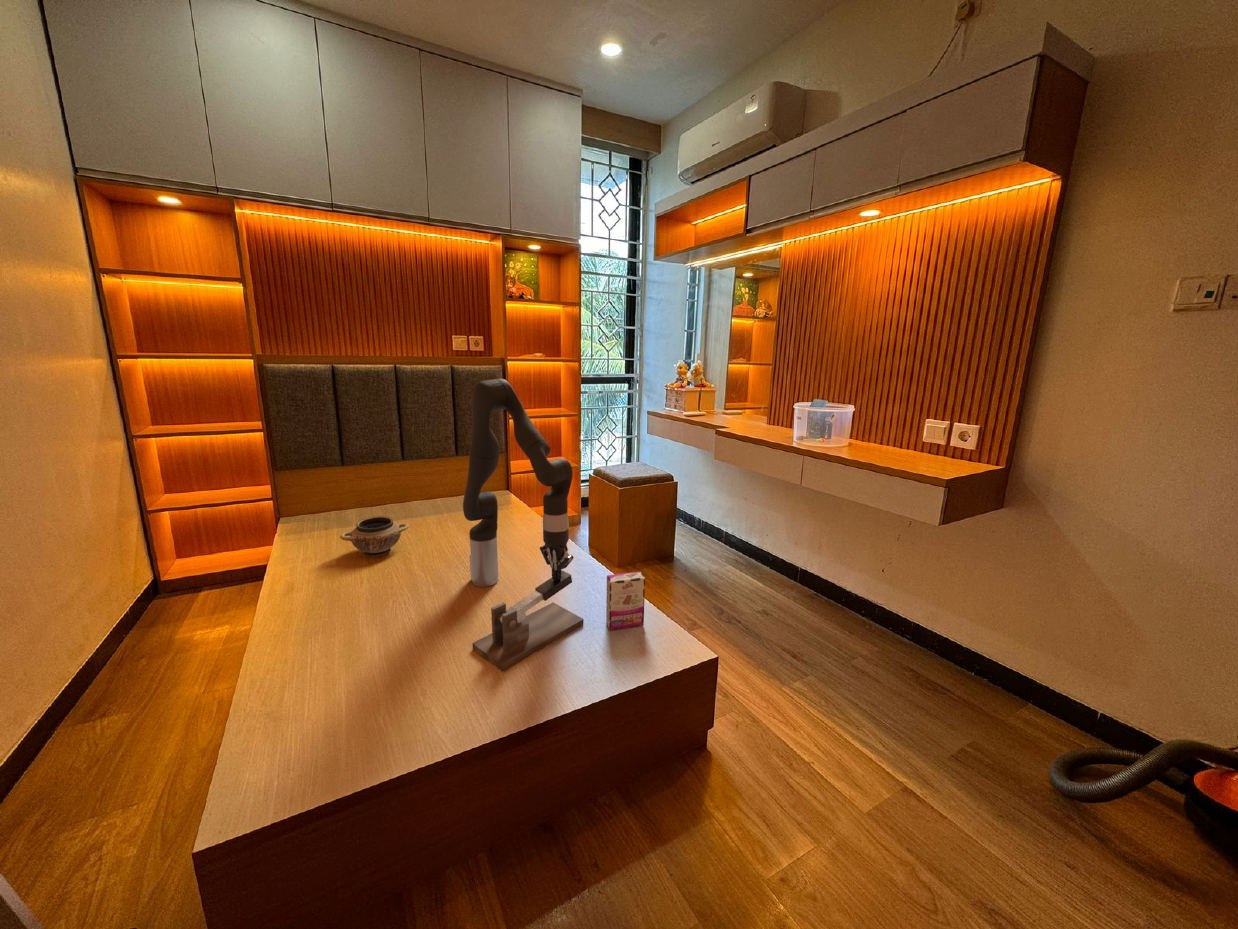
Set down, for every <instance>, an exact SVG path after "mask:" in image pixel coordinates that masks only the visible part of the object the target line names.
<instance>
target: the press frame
mask: <svg viewBox="0 0 1238 929" xmlns="http://www.w3.org/2000/svg"><path fill="white" fill-rule="evenodd" d="M505 610H507V603H505V602H504V601H503V602H501V603H498V604H496V605H494V606H492V607H491V608H490V613H491V633H489V634H487V635H485V636H484V637H482V638H480V639H478V640H475V641H474V642H472V650H473V651H475V652H476V653H477V654H478V655H480V656H481V657H483V659H484V660H486V661H488V663H490V664H491V665H492V666H494V667H495V668H497V669H498V670H499V671H500V672H502V673H503V672H505V671H507V670H508V669H511V668H512V667H514V666H515V665H517V664H519V663H521V662H523V661H524V660H526V659H527V658H529V657H531V656H533V655H535V654H536V653H537V652H539V651H541V650H543V649H545V648H546V647H548V646H549V645H551V644H553V643H555V642H557V641H558V640H560V639H561V638H563V637H565V636H567V635H568V634H570V633H572V632H574V631H575V630H577V629H579V628H580V627H582V626H584V618H583V617H581V616H579V615H577V614H576V613H574V612H572V611H570V610H568V609H566V608H564V607H563V606H561V605H559V604H557V603H555V602H553V601H552V602H551V603H549V604H547V605H545V606H543V607H541V608H539V609H537V610H535V611H533V612H531V613H529V614H527V615H526V618H525V619H524V620H523V621H521V622H520V623H517V610H515V609H513V610H511V611H509V612H507V613H505ZM500 613H505V614H503V615H502V623H501V622H500V621H498V619H497V618H498V615H499V614H500Z"/></svg>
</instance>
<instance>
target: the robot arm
mask: <svg viewBox="0 0 1238 929" xmlns="http://www.w3.org/2000/svg"><path fill="white" fill-rule="evenodd" d="M471 395H472V397H471V399H472V400H471V401H472V402H471V404H472V408H471V409H472V410H471V411H472V426H471V427H472V428H471V439H470V447H469V457H468V469H467V470H468V472H467V481H466V486H465V490H464V494H463V495H464V496H463V503H462V512H463V516H464V518H465V519H466V520H467V521H469V522H470V521H471V522H472V521H473V522H474V521H479V522H478V523H477V524H475V525H474V526H472V527H471V528H470V530H469V548H470V550H469V551H470V555H469V566H470V567H469V569H470V571H469V572H470V580H471V583H472V585H473V586H475V587H480V588H484V587H490V586H491V587H492V586H493V585H495V584H497V582H499V556H498V535H497V534H498V533H497V532H498V518H499V517H498V515H499V514H498V511H499V510H498V507H499V506H498V500H497V496H496V494H495V493H494V492H493V491H488V490H487V491H481V490H482V489H483V486H484V485H485V484H486V482H487V481H488V480H489V479H490V477H491V476H492V475H493V474H494V473H495V471H496V469H497V467H498V466H499V460H500V453H501V452H500V451H501V445H500V443H499V440H498V438H497V436H496V435H495V433H494V432H493V430H492V428H491V416H492V412H494V411H498V410H505V411H506V412H507V413H508V414H509V416H510V417H511V419H512V422H513V433H514V438H515V441H516V443H517V445H518V447H520V449H521V450H522V452H523V453H524V454H525V455H526V457H527V458H528V460H529V463H530V464H531V468H532V470H533V472H534V475H535V478H536V479H537V481H538V482H539V483H540V484H541V485H543V486H545V487H548V488H549V487H550V489H548V491H546V492H545V493H544V495H543V497H542V498H543V499H542V500H543V501H542V504H543V506H542V507H543V513H542V540H543V542H544V545H541V546H540V547H539V550H540V552H541V554H542V556H543V558H544V560H545V563H546V565H549V567H550V568H551V578H552V579H553V580H555V581H558V580H560V579H561V577H562V574H561V571H563V569H566V568H568V566H569V565H570V564H571V562H572V561H573V560H574V556H573V555H572V554H570V553H569V548H568V542H569V540H570V532H569V531H570V530H569V529H570V526H569V525H570V524H569V522H570V520H569V512H568V510H569V509H568V508H569V506H568V505H569V504H568V502H569V501H568V498H569V494H570V490H571V486H572V481H573V475H574V474H573V473H574V472H573V468H572V464H571V462H570V461H569V460H567V458H564V457H558V458H556V459H552V460H549V459H548V458H547V457H548V456H549V455H550V453H551V446H550V444H549V443H548V442H547V441H546V439H545V438H544V437H543V435H542V434H541V433H540V432H539V430H538V429H537V428H536V426H535V424H534V423H533V422H532V420H531V419H530V417H529V415H528V413H527V411H526V410H525V408H524V406H523V404H522V402H521V400H520V399H519V396H518V395H517V393H516V391H515V390H514V388H513V386H512V384H510V382H509V381H507V380H506V379H504V378H494V379H487V380H481V381H478V382H477V383H475V384H474V386H473V390H472V394H471Z"/></svg>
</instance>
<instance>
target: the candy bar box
mask: <svg viewBox="0 0 1238 929" xmlns="http://www.w3.org/2000/svg"><path fill="white" fill-rule="evenodd" d="M645 594H646V577H645V576H644V575H643V572H642V571H636V572H635V571H634V572H633V571H632V572H624V573H616V574H607V575H606V603H605V604H606V606H605V607H606V610H605V611H606V612H605V613H606V614H605V615H606V618H605V620H606V625H607V626H608V629H609V631H617V630H624V629H629V628H637V627H643V626H644V624H645V623H644V622H645V596H646V595H645Z"/></svg>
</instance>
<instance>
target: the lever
mask: <svg viewBox="0 0 1238 929" xmlns="http://www.w3.org/2000/svg"><path fill="white" fill-rule="evenodd" d="M561 574H562V577H561V579H560V580H558V581H555V580H553V579H552V577H549V579H547V580H545V581H544V582H542V583H541V584H539V585H538V586H536V587H535V589H534V591H533V592H531V593H530V594H528V595H527V596H526V597H524V598H522V599H521V600H519V601H518V602H516V603H515V604H513V605H511V606H510V607H509V608H506V610H505V613H507V612H509V611H511V610H513V609H515V610H517V623H520V622H521V621H523V620H524V619H525V618H526V616H527V615H526V614H527V613H526V612H527V611H529V610H530V609H532V608H533V607H535V606H536V605H538V604H539V603H540V602H543V601H547V600H549V599H550V598H552V597H554V596H555V595H556V594H557V593H559V592H561V591H562V590H563V589H565V588H566V587H568V586H569V585H571V584H572V583H573V579H572V574H570V573H568V572H566V571H564V570H561ZM505 613H500V614H499V615H498V618H497V619H498V621H500V622H501V623H502V615H503V614H505Z"/></svg>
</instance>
